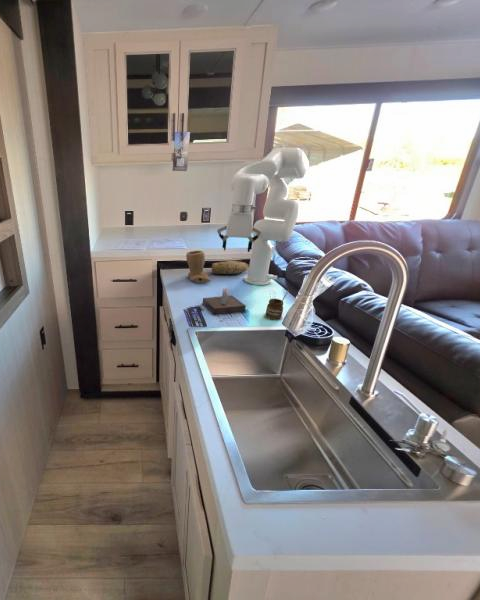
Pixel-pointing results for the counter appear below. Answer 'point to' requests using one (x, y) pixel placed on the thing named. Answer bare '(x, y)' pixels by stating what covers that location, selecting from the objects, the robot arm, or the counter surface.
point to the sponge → (229, 267)
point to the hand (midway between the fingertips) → (236, 250)
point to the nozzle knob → (224, 296)
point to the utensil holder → (275, 308)
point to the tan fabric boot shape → (197, 266)
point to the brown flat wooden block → (223, 305)
